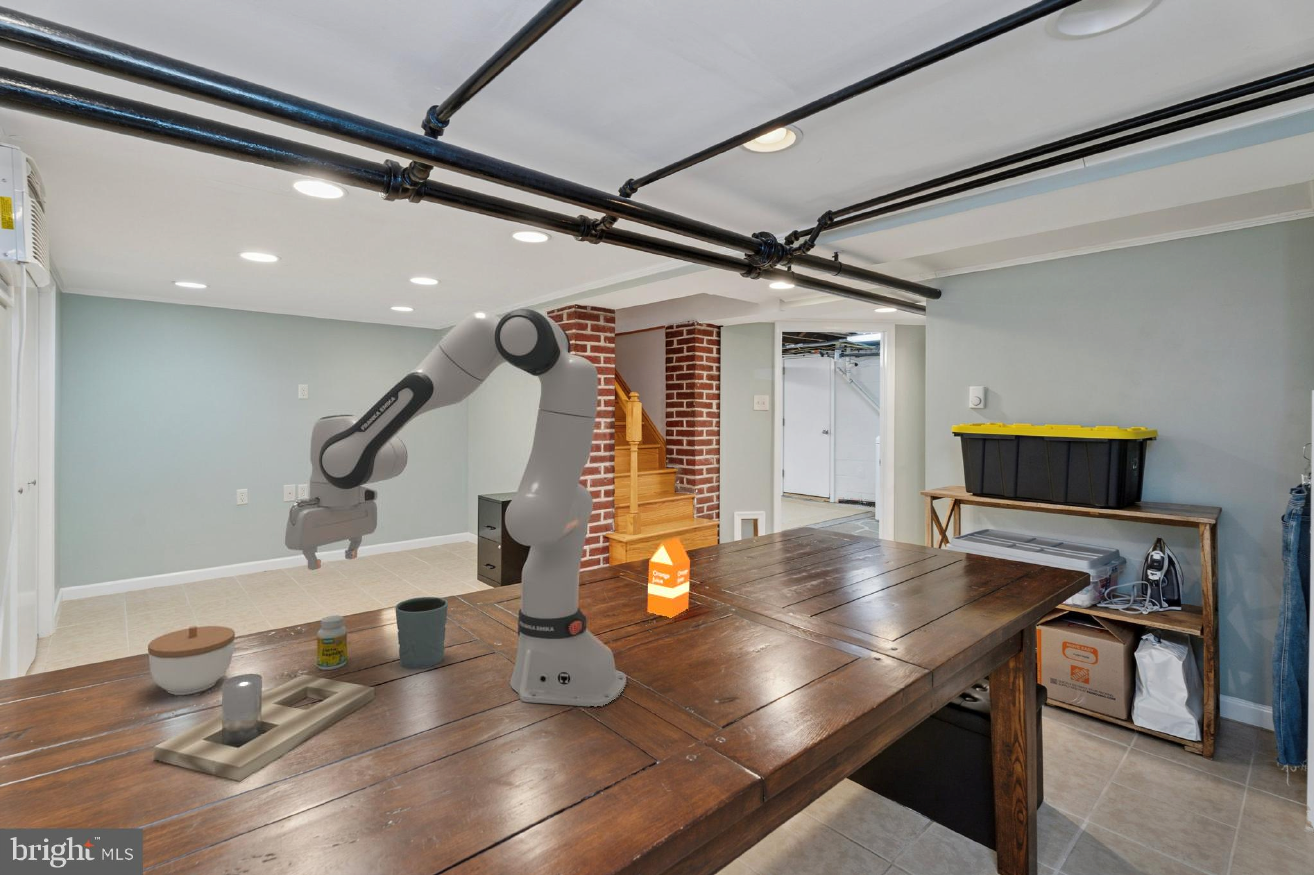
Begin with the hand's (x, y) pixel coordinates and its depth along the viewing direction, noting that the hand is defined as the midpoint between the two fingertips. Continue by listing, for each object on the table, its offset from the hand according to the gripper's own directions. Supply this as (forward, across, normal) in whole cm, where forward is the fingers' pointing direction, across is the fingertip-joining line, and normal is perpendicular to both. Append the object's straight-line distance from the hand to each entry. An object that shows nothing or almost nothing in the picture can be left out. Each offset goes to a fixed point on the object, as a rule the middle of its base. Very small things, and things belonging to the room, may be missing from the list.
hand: (333, 563), depth 121 cm
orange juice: (+21, +56, -56) cm, 82 cm away
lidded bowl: (+21, -16, +16) cm, 31 cm away
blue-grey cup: (+21, +8, -15) cm, 27 cm away
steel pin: (+21, -28, -10) cm, 36 cm away
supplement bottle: (+21, 0, 0) cm, 21 cm away
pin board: (+21, -22, -10) cm, 32 cm away
